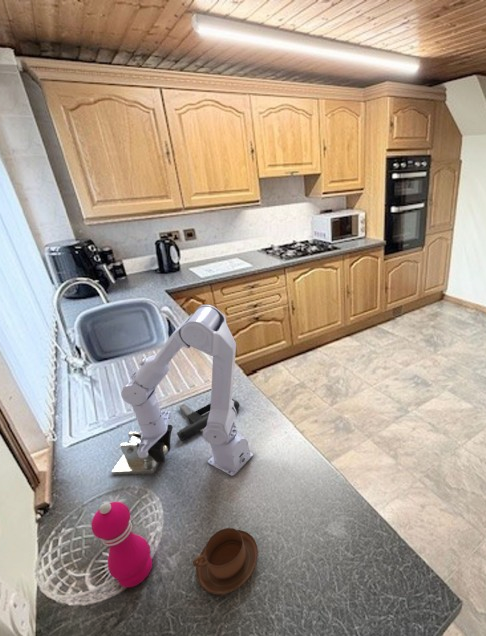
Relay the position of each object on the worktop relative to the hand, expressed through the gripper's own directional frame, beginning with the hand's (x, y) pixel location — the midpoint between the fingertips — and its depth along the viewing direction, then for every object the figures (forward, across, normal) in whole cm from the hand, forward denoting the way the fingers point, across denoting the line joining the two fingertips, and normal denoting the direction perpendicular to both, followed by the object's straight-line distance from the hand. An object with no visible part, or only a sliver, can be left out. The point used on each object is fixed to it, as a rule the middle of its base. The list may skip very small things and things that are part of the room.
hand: (163, 455), depth 95 cm
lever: (-2, 0, -4) cm, 4 cm away
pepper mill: (+2, +28, +6) cm, 29 cm away
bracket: (+2, 0, -6) cm, 7 cm away
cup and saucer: (+2, +27, +25) cm, 37 cm away
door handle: (+2, -18, +5) cm, 18 cm away
